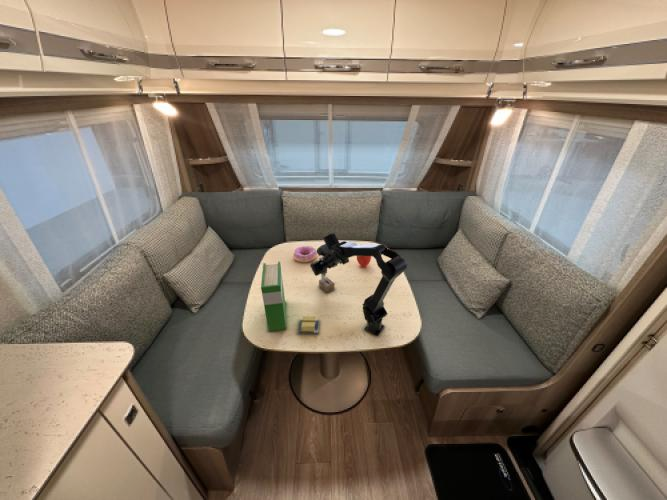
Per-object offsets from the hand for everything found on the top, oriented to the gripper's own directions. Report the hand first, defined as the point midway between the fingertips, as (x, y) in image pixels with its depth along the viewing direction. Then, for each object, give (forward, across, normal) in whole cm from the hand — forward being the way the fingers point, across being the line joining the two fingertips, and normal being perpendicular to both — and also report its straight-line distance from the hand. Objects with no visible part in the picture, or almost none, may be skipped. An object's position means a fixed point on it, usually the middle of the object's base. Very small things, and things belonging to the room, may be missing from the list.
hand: (321, 267), depth 134 cm
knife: (+5, 0, +7) cm, 8 cm away
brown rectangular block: (+9, -2, +10) cm, 14 cm away
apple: (+10, -32, +9) cm, 35 cm away
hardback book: (+8, +28, +11) cm, 31 cm away
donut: (+32, -12, -13) cm, 36 cm away
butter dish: (-2, +21, +22) cm, 31 cm away
